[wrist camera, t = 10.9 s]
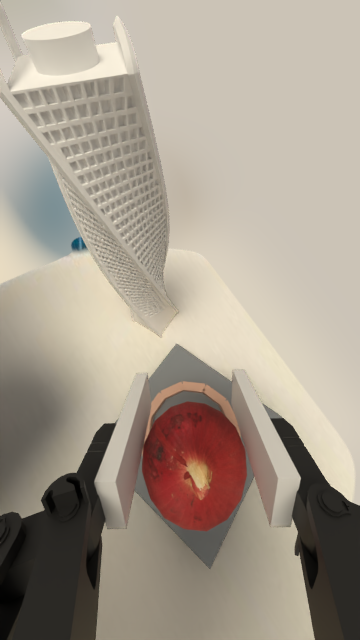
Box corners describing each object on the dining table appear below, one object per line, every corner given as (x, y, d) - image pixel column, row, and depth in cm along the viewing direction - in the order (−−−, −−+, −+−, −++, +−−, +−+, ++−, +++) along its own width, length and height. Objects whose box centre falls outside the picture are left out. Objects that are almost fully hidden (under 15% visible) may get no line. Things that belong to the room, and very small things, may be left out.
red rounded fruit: (139, 470, 14) (88, 523, 7) (173, 392, 16) (161, 374, 9) (216, 516, 13) (249, 639, 6) (242, 425, 15) (289, 433, 8)
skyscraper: (121, 322, 32) (-143, -37, 6) (148, 289, 34) (33, -61, 9) (162, 346, 30) (9, -41, 4) (187, 309, 32) (180, -70, 7)
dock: (208, 560, 20) (211, 581, 17) (99, 447, 24) (89, 450, 22) (278, 417, 25) (287, 417, 22) (176, 346, 30) (175, 339, 27)
